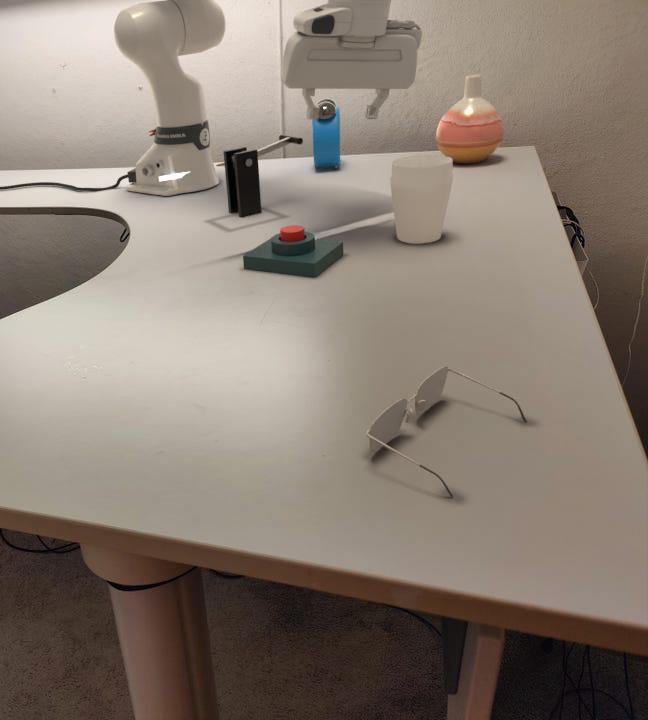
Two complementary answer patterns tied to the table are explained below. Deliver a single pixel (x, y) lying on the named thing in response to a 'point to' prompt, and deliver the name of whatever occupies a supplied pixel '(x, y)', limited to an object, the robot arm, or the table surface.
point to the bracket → (243, 182)
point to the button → (292, 233)
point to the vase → (470, 126)
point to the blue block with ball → (326, 134)
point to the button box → (294, 256)
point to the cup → (421, 196)
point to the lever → (275, 145)
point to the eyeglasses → (424, 399)
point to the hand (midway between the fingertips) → (341, 118)
